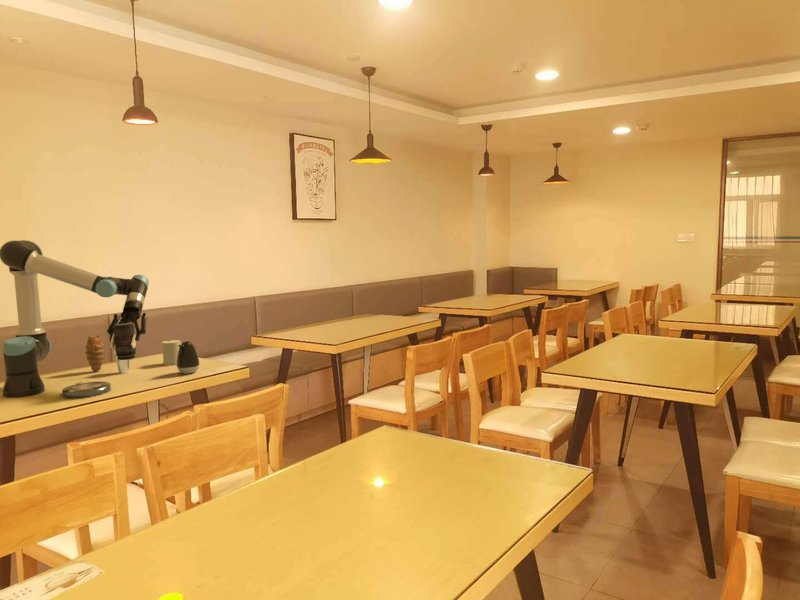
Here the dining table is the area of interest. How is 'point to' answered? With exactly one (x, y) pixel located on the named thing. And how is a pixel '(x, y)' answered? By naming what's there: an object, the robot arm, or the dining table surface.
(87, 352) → the croissant
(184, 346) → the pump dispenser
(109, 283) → the robot arm
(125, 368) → the cup with straw
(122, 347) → the camera lens
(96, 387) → the plate
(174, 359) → the pale green cup
